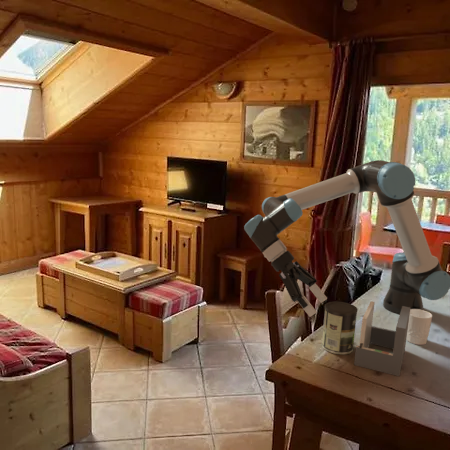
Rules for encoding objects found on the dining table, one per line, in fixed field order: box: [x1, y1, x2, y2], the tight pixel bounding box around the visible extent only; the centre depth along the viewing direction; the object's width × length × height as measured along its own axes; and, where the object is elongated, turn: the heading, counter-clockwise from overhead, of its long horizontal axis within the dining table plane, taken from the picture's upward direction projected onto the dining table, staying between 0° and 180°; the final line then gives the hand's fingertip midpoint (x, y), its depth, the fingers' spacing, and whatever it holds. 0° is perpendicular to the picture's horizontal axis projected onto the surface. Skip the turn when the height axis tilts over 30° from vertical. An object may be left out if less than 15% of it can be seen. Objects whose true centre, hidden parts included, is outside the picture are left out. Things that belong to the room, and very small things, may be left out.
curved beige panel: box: [358, 300, 375, 348], centre depth 144 cm, size 1×18×14 cm, turn 154°
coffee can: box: [321, 300, 358, 355], centre depth 149 cm, size 10×10×14 cm
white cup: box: [406, 309, 433, 346], centre depth 156 cm, size 8×8×10 cm
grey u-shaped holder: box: [354, 306, 410, 377], centre depth 143 cm, size 13×18×15 cm
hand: (319, 307), depth 150 cm, fingers open, 13 cm apart
